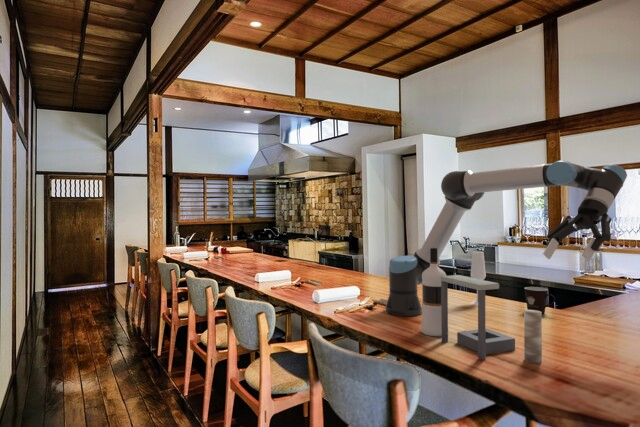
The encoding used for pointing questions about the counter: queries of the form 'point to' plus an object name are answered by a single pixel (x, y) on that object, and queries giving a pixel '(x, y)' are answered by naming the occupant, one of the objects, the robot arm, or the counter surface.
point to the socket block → (493, 341)
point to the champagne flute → (478, 269)
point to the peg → (533, 336)
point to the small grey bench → (481, 287)
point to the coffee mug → (537, 298)
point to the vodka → (432, 297)
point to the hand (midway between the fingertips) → (564, 257)
